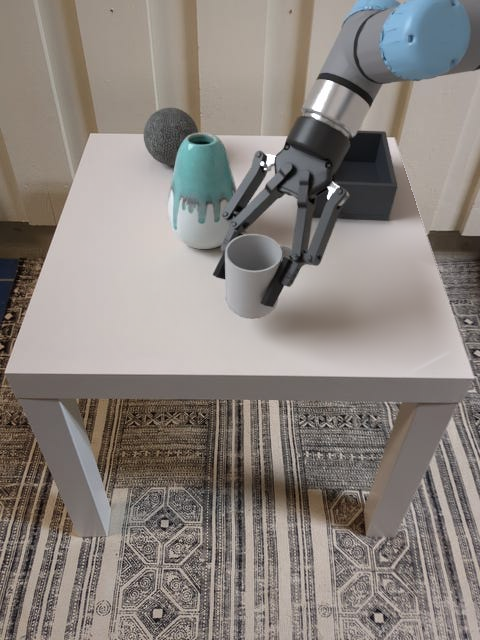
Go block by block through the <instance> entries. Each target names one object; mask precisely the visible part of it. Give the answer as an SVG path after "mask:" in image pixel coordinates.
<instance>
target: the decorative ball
mask: <svg viewBox="0 0 480 640" xmlns="http://www.w3.org/2000/svg"><path fill="white" fill-rule="evenodd" d="M194 133H199V130H198V126H197V124H196V123H195V121H194V119H193V118H192V116H190V114H188V113H187V112H186V111H184V110H182V109H180V108H176V107H164V108H160V109H158V110H157V111H155V112H153V113H152V114H151V115H150V116H149V118H148V119H147V121H146V122H145V125H144V128H143V142H144V147H145V148H146V151H147V152H148V153H149V155H150V156H151V157H152V158H153V159H154V160H155V161H157V162H159V163H161V164H163V165H167V166H175V161H176V156H177V153H178V150H179V147H180V145H181V143H182V142H183V140H184V139H185V138H186V137H187V136H189V135H191V134H194Z"/></svg>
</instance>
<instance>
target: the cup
mask: <svg viewBox="0 0 480 640" xmlns="http://www.w3.org/2000/svg"><path fill="white" fill-rule="evenodd" d="M291 252H292V248H290V247H289V246H286V245H280V244H279V243H278V241H276V240H275V239H274V238H272V237H269V236H268V235H264V234H260V233H244V235H241V236H238V237H236V238H234V239H233V240H232V241H230V242H229V243H228V245H227V247H226V250H225V279H224V282H225V283H224V286H225V290H224V291H225V292H224V293H225V301H226V305H227V307H228V309H229V310H230V311H231V312H233V314H235V315H237V316H238V317H240V318H243V319H249V320H256V319H261V318H265V317H266V316H268V315H270V314H271V313H272V312H273V311H274V310H275V309H276V307H277V305H278V301H279V298H278V299H277V301H276V303H275V304H274V306H273V307H270V306H265V305H263V304H261V303H260V302H261V300H262V298H263V296H264V294H265V292H266V290H267V288H268V286H269V285H270V283H271V281H272V279H273V277H274V275H275V273H276V271H277V269H278V267H279V265H280V263H281V261H282V259H283V257H286V258H288V259H290V258H289V255H290V256H291Z"/></svg>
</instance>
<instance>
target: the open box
mask: <svg viewBox="0 0 480 640" xmlns="http://www.w3.org/2000/svg"><path fill="white" fill-rule="evenodd" d="M349 141H350V148H349V149H348V151H347V153H346V155H345V157H344V159H343V161H342V163H341V165H340V167H339V168H338V170H337V171H336V173H335V183H336V184H337V185H338V186H339V187H343V188H344V189H345V190H346V191H347V192H348V193H349V194H350V199H349V201H348V202H347V203H346V204H345V205H344V207H343V208H342V209H341V210H340V213H339V216H338V218H337V220H338V219H339V220H340V219H342V220H364V221H365V220H366V221H383V222H384V221H386V222H387V221H388V222H389V220H390V216H391V213H392V209H393V205H394V203H395V198H396V193H397V191H398V183H397V178H396V177H397V176H396V173H395V168H394V164H393V158H392V155H391V150H390V145H389V141H388V137H387V132H386V130H385V131H382V130H360V129H359V130H358V132H357V134H356V136H355V137H354V138H351V139H349ZM328 193H329V190H327V191H326V192H324V193H322V194H320V195H319V196H317V198H316V206H315V210H314V212H313V217H312V218H315V219H316V218H319V219H320V218H321V215H322V212H323V210H324V207H325V205H326V203H327V201H328V198H327V195H328Z"/></svg>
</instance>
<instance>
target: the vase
mask: <svg viewBox="0 0 480 640" xmlns="http://www.w3.org/2000/svg"><path fill="white" fill-rule="evenodd" d="M173 166H174V167H173V172H172V177H171V179H170V184H169V188H168V195H167V206H166V208H167V209H166V210H167V211H166V213H167V221H168V224H169V227H170V229H171V231H172V232H173V234H174V236H175V237H176V238H177V239H178V240H179V241H181V242H182V243H183V244H184V245H187V246H189V247H191V248H194V249H198V250H199V249H200V250H210V249H215V248H218V247H221V245H222V243H223V241H224V239H225V237H226V235H227V233H228V231H229V228H230V225H229V223H228V222H227V221H226V220H225V219H224V218H223V217H222V212H223V211H224V209H225V207H226V206H227V204H228V203H229V201H230V200H231V198H232V196H233V195H234V193H235V192H236V190H237V189H238V188H237V185H236V181H235V179H234V176H233V172H232V169H231V164H230V161H229V157H228V153H227V150H226V147H225V145H224V143H223V142H222V140H221V139H220V137H219V136H217V135H215V134H213V133H210V132H198V133H194V134H191V135H189V136H187V137H186V138H185V139H184V140H183V142H182V143H181V145H180V147H179V150H178V153H177V156H176V161H175V165H173Z"/></svg>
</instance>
